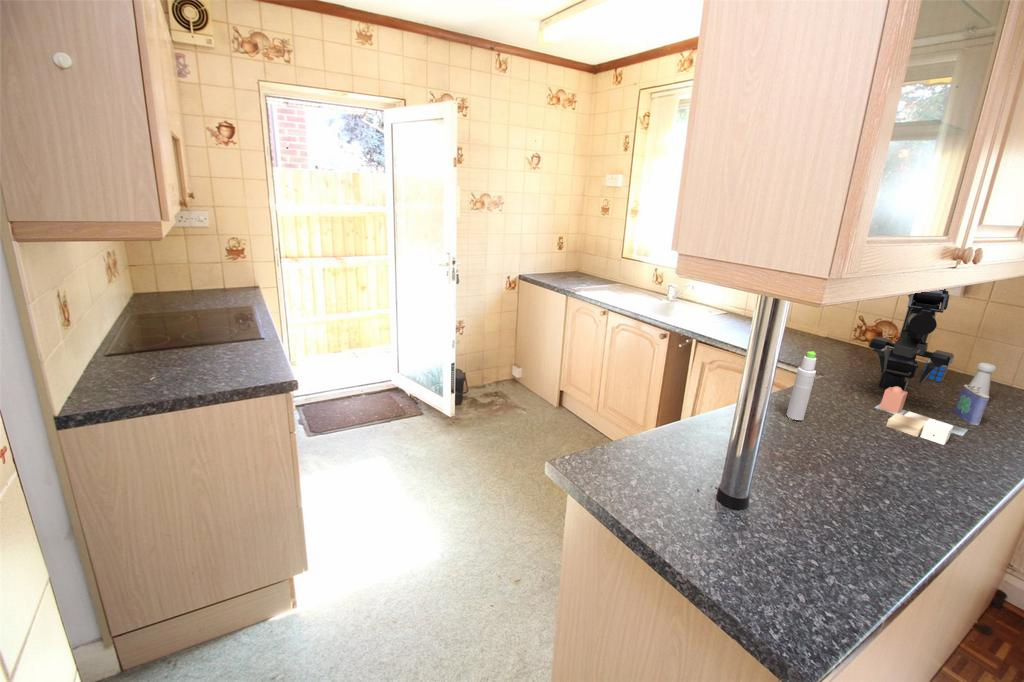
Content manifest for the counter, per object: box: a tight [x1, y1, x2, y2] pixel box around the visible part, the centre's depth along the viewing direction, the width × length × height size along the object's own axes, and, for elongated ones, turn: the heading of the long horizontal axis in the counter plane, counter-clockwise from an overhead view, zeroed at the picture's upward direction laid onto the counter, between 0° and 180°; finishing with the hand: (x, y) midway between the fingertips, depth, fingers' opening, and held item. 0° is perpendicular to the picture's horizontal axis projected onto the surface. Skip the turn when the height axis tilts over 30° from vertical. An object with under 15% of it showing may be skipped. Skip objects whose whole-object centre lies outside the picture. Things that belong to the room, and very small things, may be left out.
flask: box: [952, 383, 991, 426], centre depth 141 cm, size 10×3×12 cm, turn 164°
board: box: [873, 402, 968, 437], centre depth 141 cm, size 21×9×1 cm, turn 38°
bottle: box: [785, 351, 817, 421], centre depth 134 cm, size 4×4×20 cm
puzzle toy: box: [920, 359, 950, 383], centre depth 177 cm, size 6×6×6 cm
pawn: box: [880, 386, 909, 413], centre depth 144 cm, size 4×4×7 cm
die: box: [919, 418, 953, 446], centre depth 128 cm, size 5×5×5 cm
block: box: [886, 413, 926, 437], centre depth 133 cm, size 7×7×3 cm
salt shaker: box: [968, 362, 997, 397], centre depth 156 cm, size 6×6×13 cm
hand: (900, 377), depth 143 cm, fingers open, 9 cm apart
